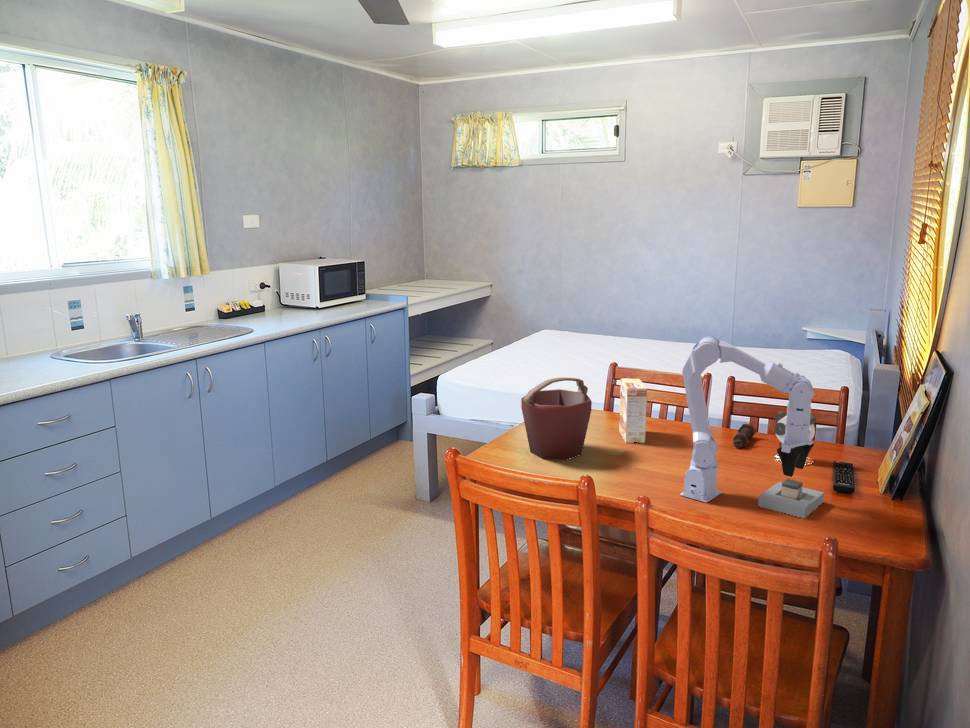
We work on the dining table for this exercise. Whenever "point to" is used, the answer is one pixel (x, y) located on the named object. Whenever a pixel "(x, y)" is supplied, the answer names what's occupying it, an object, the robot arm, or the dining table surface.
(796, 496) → the peg
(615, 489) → the dining table surface
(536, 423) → the bucket
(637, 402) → the coffeecake box
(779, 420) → the panda figurine
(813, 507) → the socket board
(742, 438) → the dark brown cylinder
